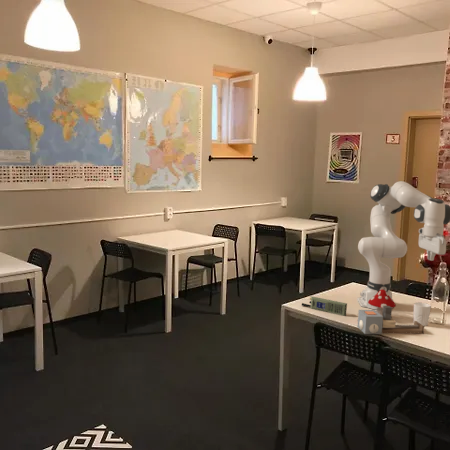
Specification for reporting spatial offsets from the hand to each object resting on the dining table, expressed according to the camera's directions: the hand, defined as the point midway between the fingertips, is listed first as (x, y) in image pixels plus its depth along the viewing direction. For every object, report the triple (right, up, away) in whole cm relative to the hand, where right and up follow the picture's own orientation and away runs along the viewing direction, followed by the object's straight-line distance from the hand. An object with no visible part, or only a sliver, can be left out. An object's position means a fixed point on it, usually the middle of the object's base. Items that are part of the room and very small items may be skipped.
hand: (430, 260), depth 239 cm
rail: (-17, -33, -5) cm, 38 cm away
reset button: (-32, -27, -7) cm, 42 cm away
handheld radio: (-48, -29, +22) cm, 61 cm away
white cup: (-2, -33, +6) cm, 33 cm away
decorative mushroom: (-20, -31, +14) cm, 39 cm away
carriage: (-24, -31, -6) cm, 39 cm away
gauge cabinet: (-32, -33, -6) cm, 46 cm away
